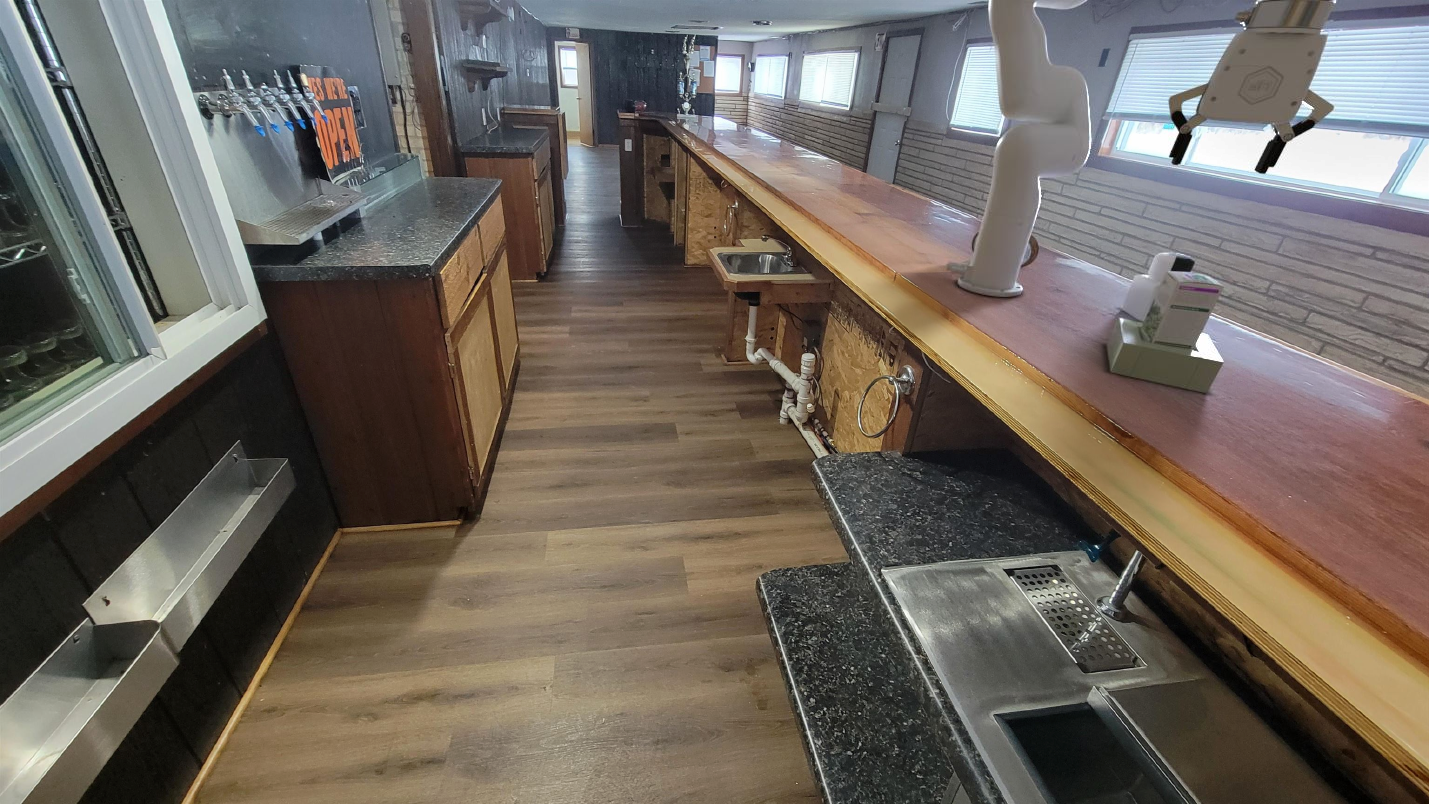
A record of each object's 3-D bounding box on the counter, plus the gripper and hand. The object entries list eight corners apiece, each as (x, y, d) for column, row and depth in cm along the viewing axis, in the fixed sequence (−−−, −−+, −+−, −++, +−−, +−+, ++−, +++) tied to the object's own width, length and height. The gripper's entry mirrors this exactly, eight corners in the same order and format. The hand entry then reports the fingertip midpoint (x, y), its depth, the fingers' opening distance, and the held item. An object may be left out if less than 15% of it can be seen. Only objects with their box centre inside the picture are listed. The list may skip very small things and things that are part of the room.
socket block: (1110, 372, 86) (1123, 342, 83) (1106, 345, 95) (1118, 318, 92) (1206, 393, 81) (1224, 362, 78) (1193, 363, 90) (1207, 334, 88)
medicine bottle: (1157, 311, 111) (1185, 251, 106) (1179, 325, 105) (1210, 261, 99) (1119, 308, 112) (1145, 248, 106) (1139, 322, 106) (1167, 258, 100)
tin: (1032, 270, 134) (1044, 235, 129) (1027, 273, 132) (1039, 236, 127) (971, 256, 143) (980, 222, 139) (965, 258, 141) (975, 224, 137)
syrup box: (1180, 378, 85) (1228, 285, 78) (1136, 371, 86) (1179, 279, 79) (1167, 363, 90) (1211, 274, 82) (1125, 357, 91) (1165, 269, 84)
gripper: (1205, 18, 71) (1145, 163, 80) (1392, 20, 64) (1303, 179, 73) (1196, 23, 76) (1141, 158, 85) (1366, 25, 69) (1287, 173, 78)
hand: (1216, 168), depth 79 cm, fingers open, 9 cm apart
